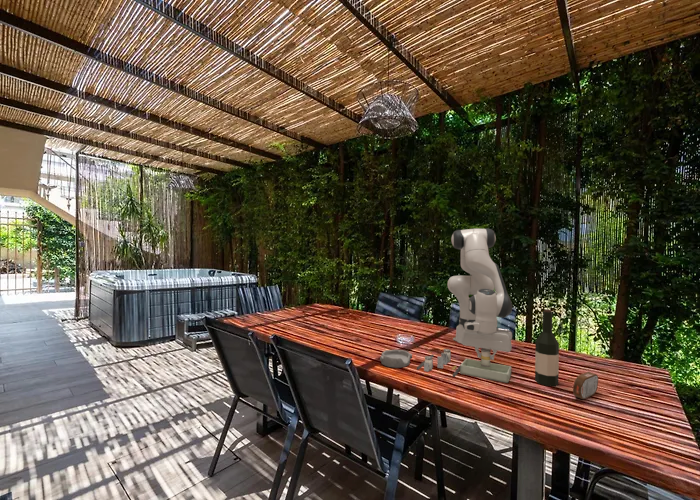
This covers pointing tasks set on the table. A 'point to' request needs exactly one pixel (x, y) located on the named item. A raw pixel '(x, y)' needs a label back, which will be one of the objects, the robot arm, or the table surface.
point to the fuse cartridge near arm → (447, 353)
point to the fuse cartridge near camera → (429, 361)
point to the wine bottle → (547, 354)
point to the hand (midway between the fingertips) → (485, 358)
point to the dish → (395, 358)
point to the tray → (486, 370)
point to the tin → (585, 385)
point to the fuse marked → (485, 357)
